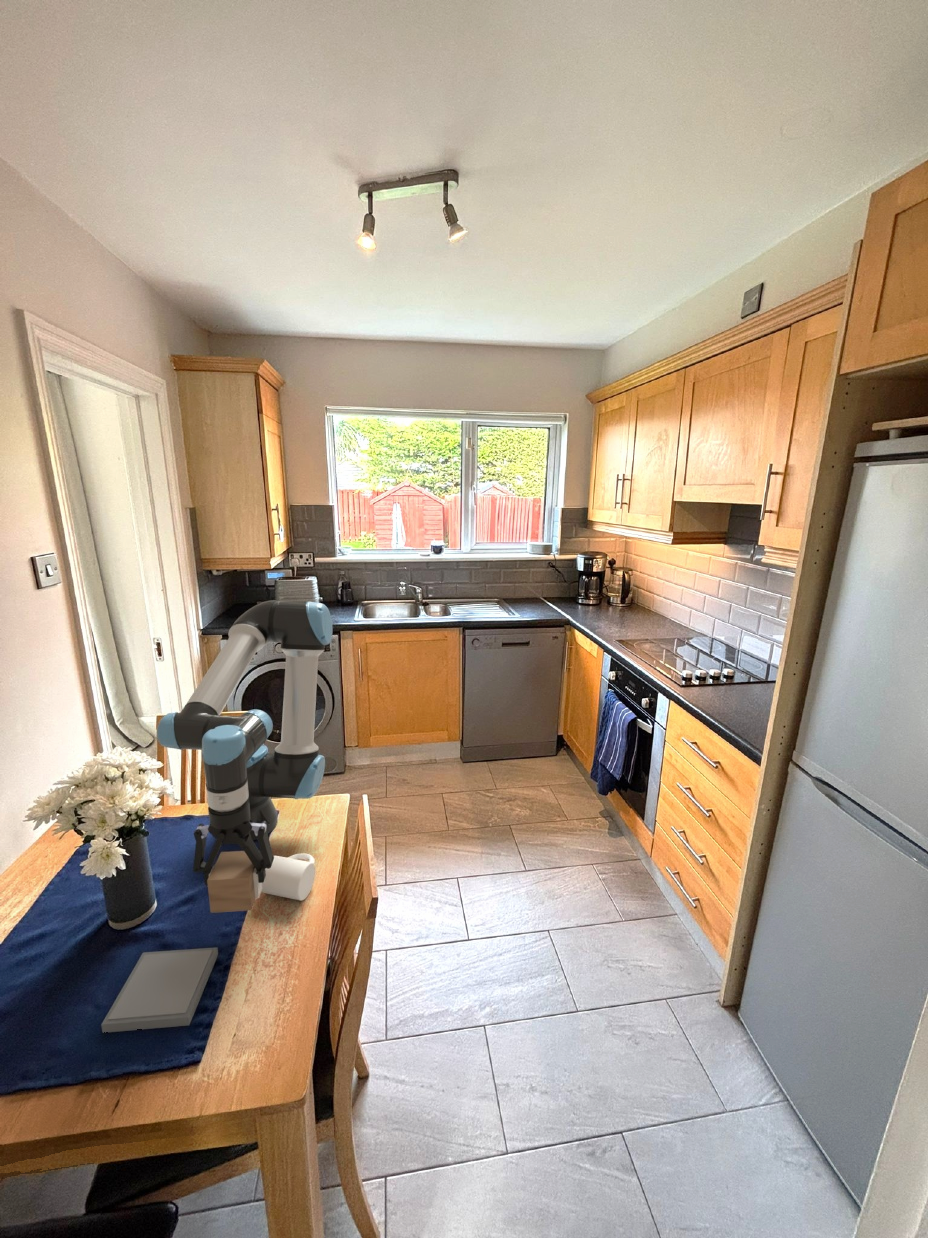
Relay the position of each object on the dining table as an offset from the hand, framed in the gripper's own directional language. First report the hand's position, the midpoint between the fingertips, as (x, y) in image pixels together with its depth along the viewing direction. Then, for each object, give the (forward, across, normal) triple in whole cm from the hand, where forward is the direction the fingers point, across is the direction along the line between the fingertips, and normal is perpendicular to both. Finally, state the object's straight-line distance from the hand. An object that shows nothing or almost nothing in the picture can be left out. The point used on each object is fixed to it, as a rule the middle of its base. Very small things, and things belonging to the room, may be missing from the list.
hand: (237, 894), depth 105 cm
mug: (+9, +9, +11) cm, 17 cm away
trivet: (+8, -9, -14) cm, 18 cm away
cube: (0, 0, 0) cm, 0 cm away
